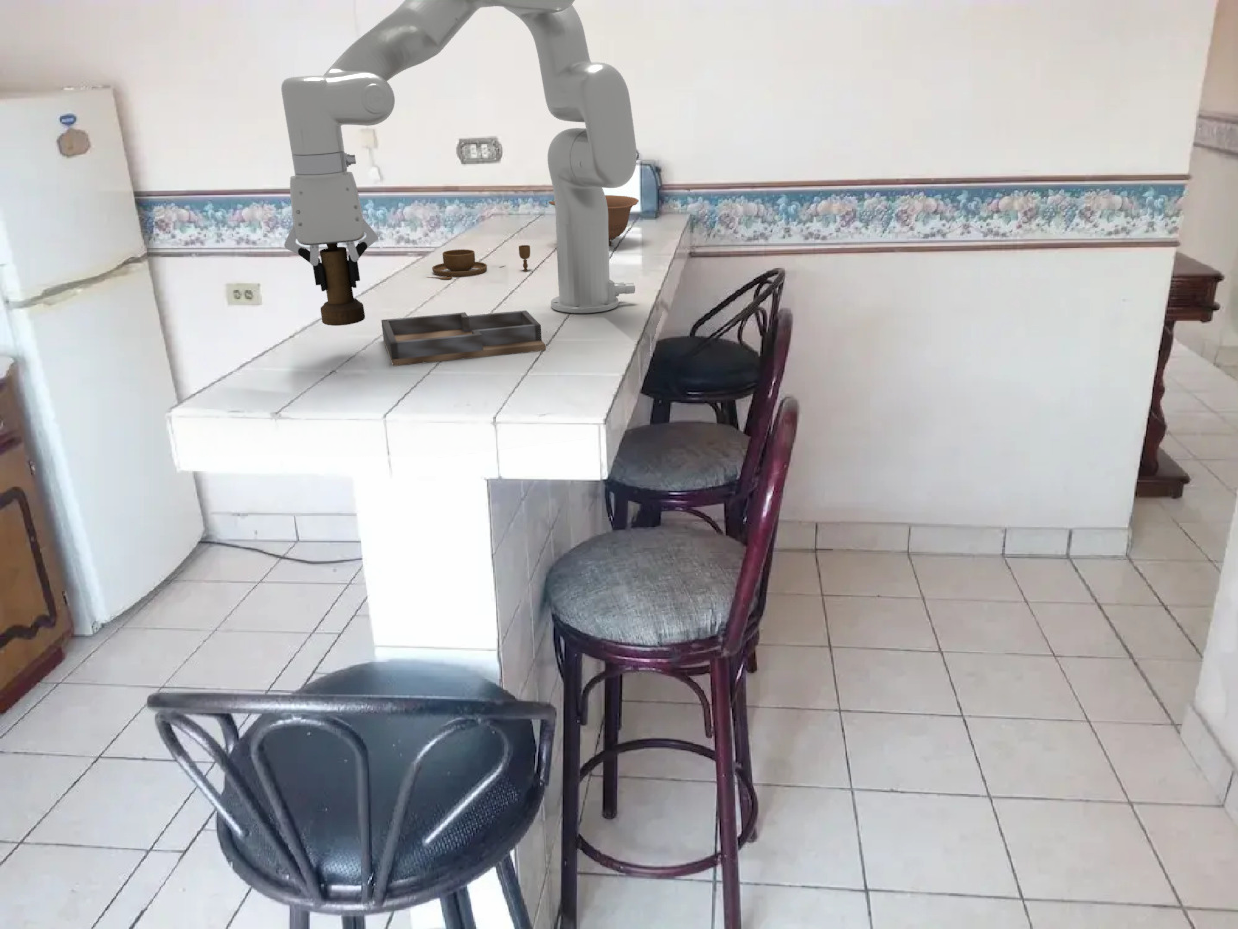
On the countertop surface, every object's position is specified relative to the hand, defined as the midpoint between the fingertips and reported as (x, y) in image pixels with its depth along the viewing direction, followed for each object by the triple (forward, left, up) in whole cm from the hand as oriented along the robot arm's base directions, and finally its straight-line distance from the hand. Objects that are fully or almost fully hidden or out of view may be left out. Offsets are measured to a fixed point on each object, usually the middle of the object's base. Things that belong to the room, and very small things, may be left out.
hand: (338, 286), depth 157 cm
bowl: (-64, -82, -11) cm, 105 cm away
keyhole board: (-18, 0, -11) cm, 21 cm away
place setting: (-31, -58, -12) cm, 67 cm away
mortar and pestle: (0, 0, -6) cm, 6 cm away
